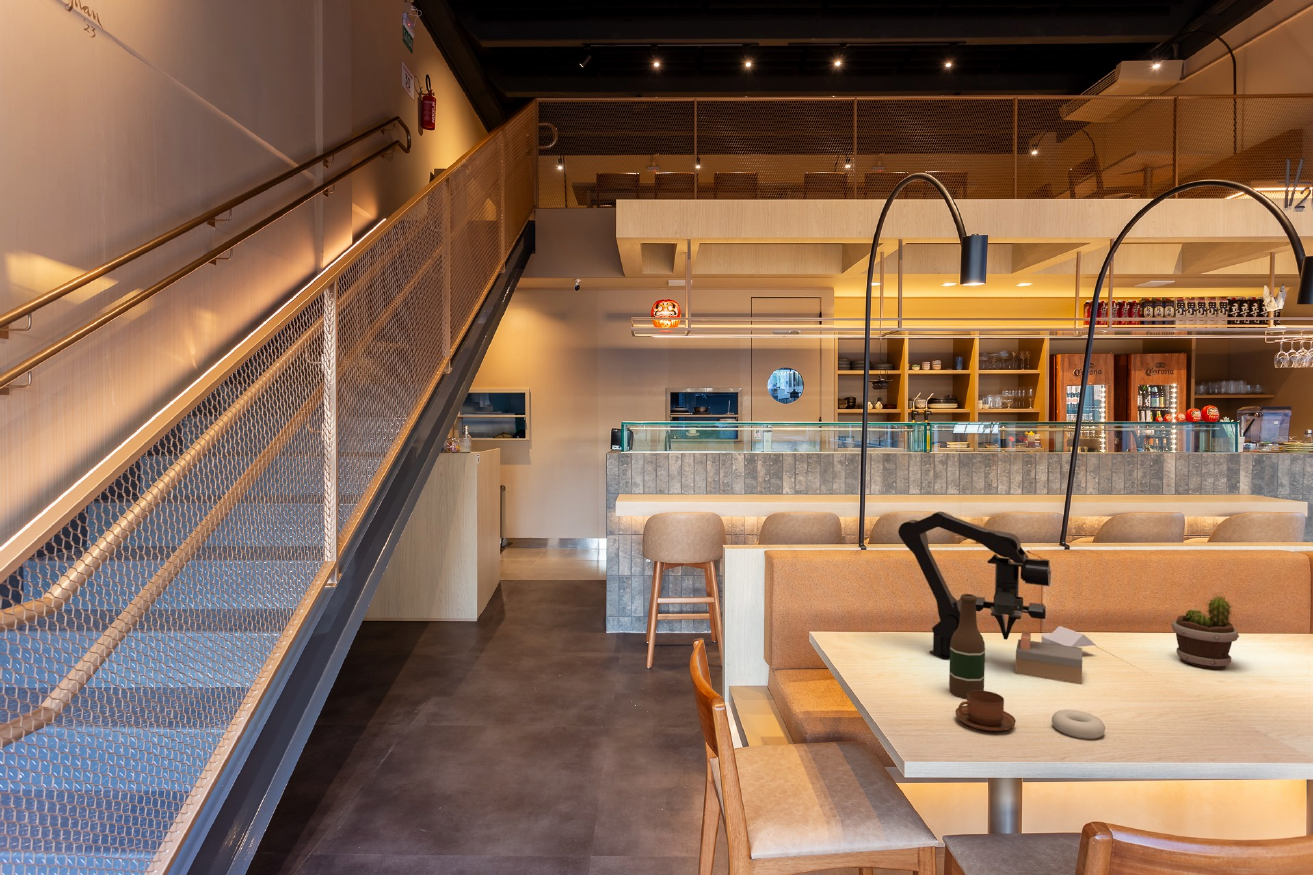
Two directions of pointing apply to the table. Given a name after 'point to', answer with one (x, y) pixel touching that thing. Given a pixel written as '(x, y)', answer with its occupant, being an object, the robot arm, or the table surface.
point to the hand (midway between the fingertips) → (1005, 639)
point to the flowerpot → (1206, 635)
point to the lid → (1048, 652)
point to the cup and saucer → (985, 711)
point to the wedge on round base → (1066, 638)
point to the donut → (1078, 724)
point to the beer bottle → (967, 652)
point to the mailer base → (1049, 670)
